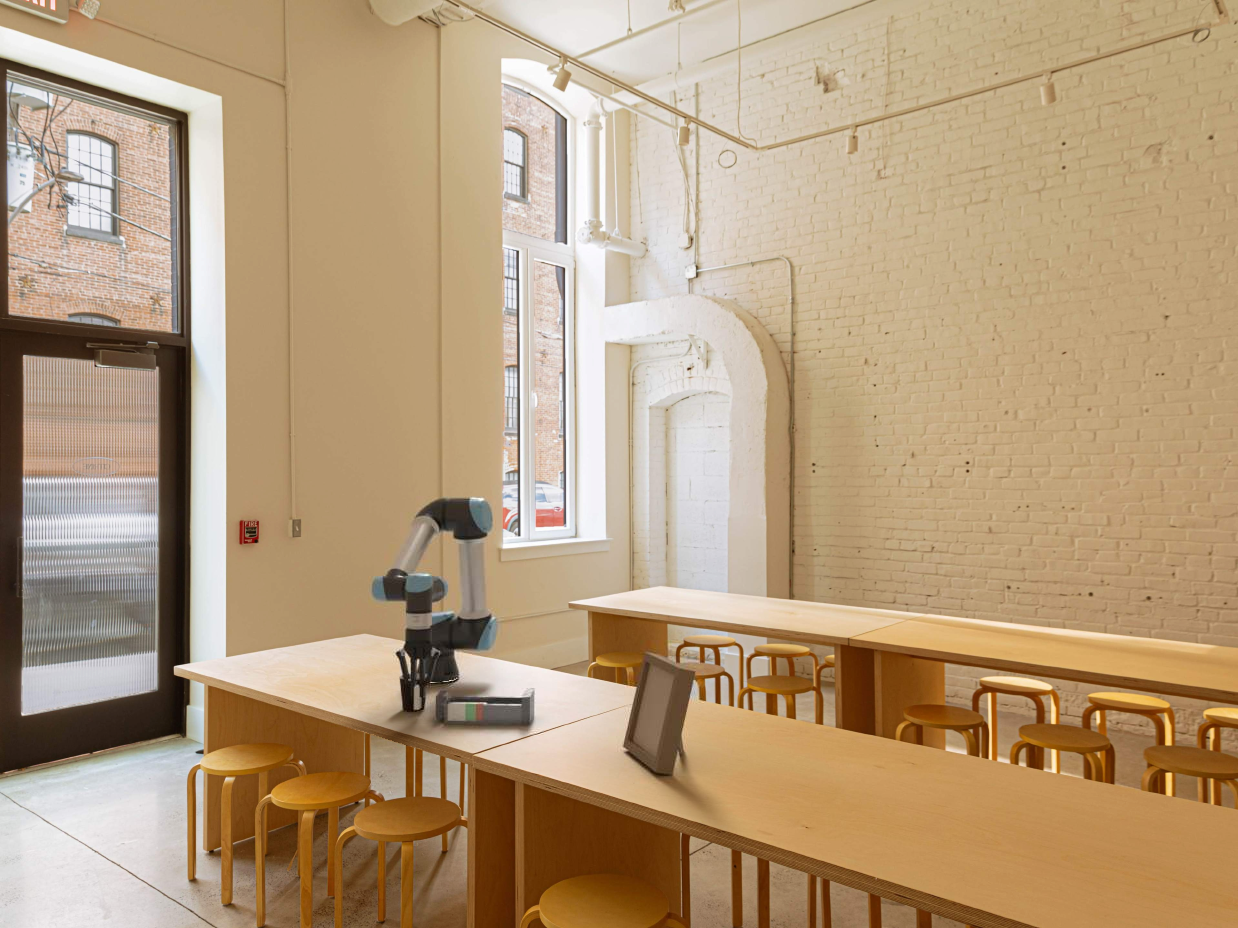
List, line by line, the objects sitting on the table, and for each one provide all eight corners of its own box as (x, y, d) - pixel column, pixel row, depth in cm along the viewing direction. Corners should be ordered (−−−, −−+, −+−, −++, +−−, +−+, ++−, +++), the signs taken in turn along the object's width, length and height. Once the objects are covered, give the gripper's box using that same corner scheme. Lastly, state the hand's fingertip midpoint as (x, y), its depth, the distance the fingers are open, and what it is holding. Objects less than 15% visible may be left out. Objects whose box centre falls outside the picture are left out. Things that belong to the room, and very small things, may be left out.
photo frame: (655, 776, 202) (657, 669, 203) (622, 750, 222) (624, 652, 223) (712, 770, 207) (714, 666, 208) (675, 745, 227) (676, 650, 228)
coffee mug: (411, 714, 255) (412, 680, 256) (393, 709, 261) (393, 676, 261) (441, 706, 265) (442, 674, 265) (423, 702, 270) (423, 670, 270)
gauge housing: (452, 714, 256) (452, 687, 256) (534, 715, 256) (534, 688, 256) (444, 724, 245) (444, 696, 245) (529, 725, 244) (529, 697, 245)
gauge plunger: (440, 711, 254) (440, 690, 254) (487, 711, 254) (488, 691, 254) (433, 719, 244) (433, 698, 244) (482, 720, 244) (482, 699, 244)
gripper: (392, 628, 248) (391, 711, 247) (438, 629, 247) (436, 711, 247) (399, 624, 255) (398, 704, 254) (443, 625, 255) (442, 705, 254)
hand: (417, 708), depth 251 cm, fingers closed
